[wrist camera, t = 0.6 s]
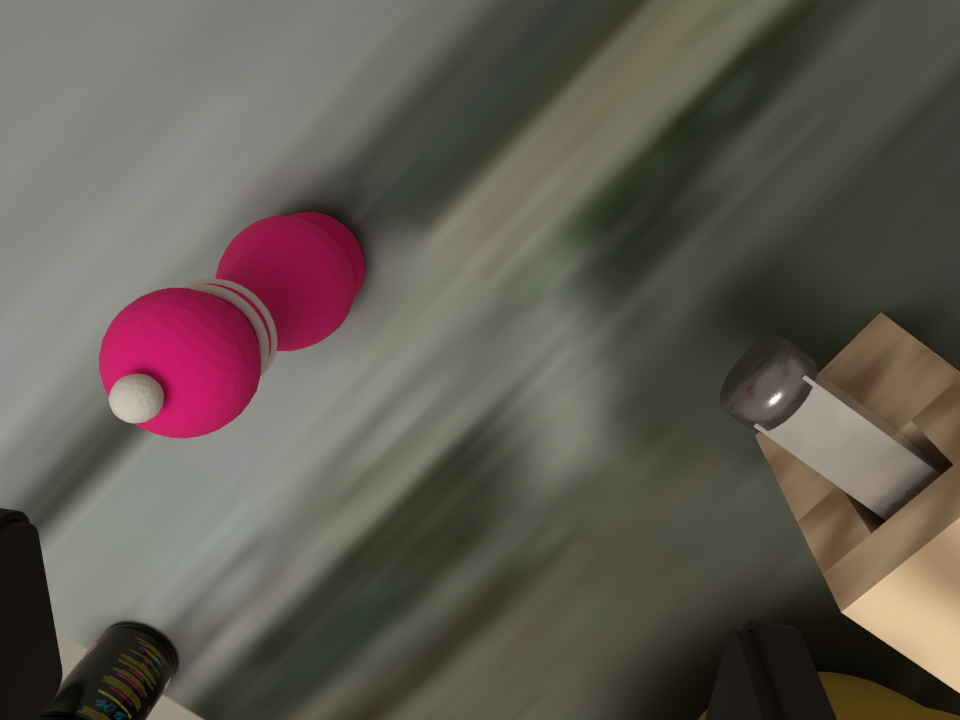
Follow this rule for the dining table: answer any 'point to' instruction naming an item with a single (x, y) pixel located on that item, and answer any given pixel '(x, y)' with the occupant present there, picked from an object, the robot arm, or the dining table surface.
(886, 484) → the shaft
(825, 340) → the dining table surface
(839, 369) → the block
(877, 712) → the planter bowl
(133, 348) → the pepper mill
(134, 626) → the supplement container
